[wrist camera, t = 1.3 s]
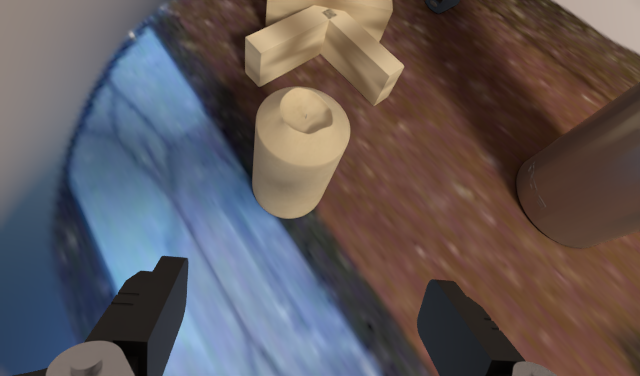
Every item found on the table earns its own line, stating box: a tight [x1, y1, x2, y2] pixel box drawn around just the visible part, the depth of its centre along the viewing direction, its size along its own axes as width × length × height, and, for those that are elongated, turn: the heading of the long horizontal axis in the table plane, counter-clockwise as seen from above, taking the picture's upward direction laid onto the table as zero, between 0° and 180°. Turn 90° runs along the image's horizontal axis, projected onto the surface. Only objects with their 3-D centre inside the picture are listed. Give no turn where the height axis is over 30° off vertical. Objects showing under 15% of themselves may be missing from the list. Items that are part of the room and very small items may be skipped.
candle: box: [252, 87, 350, 219], centre depth 24 cm, size 6×6×10 cm
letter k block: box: [245, 0, 404, 106], centre depth 33 cm, size 13×10×5 cm
